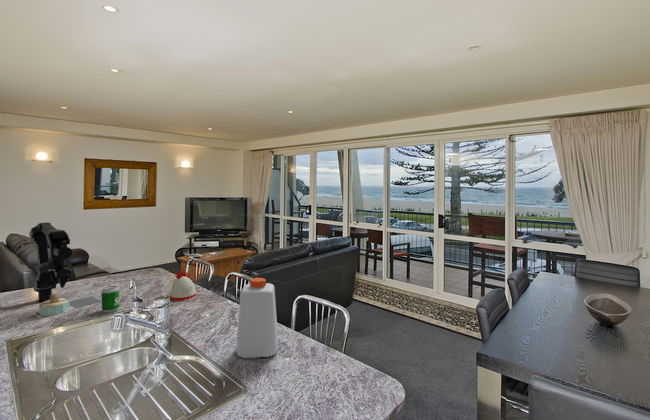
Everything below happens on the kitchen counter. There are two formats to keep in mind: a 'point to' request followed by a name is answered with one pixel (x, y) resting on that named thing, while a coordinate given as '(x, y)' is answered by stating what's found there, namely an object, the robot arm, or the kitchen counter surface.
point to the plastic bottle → (257, 320)
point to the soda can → (110, 299)
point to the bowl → (54, 309)
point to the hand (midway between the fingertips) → (58, 286)
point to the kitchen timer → (182, 287)
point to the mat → (84, 302)
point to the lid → (54, 301)
